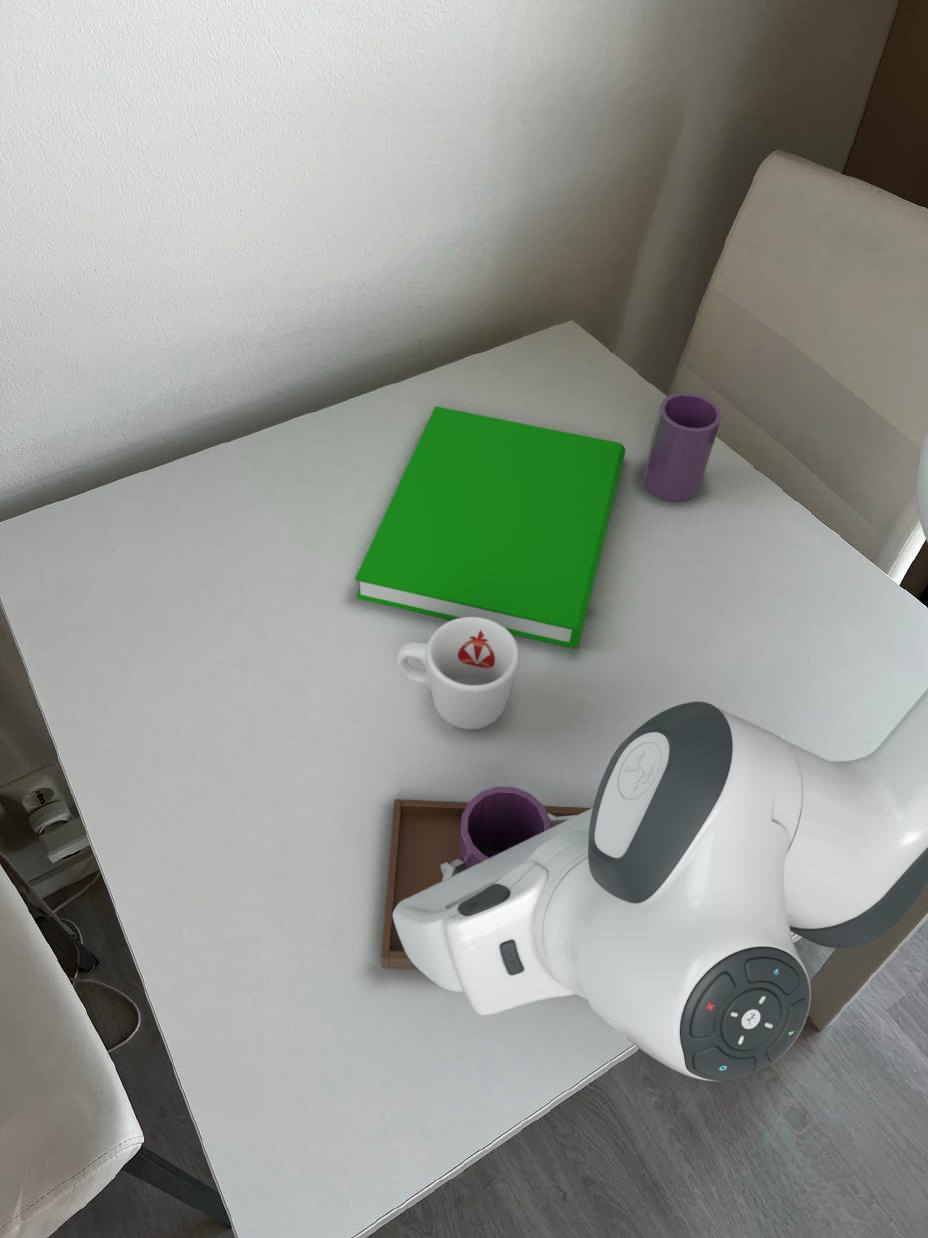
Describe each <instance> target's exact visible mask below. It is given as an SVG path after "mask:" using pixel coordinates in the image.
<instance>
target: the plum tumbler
mask: <svg viewBox="0 0 928 1238" xmlns="http://www.w3.org/2000/svg"><path fill="white" fill-rule="evenodd" d="M468 802H469V803H468V805H467V806H466V808H465V810H464V812H463V814H462V817H461V830H460V844H459V858H460V860H463V861H464V862H465V865H466V867H467V869H468V868H470V867H472V866H474V865H476V864H478V863H480V862H483V861H485V860H487V859H489V858H491V857H493V856H495V855H497V854H499V853H501V852H503V851H505V850H507V849H509V848H511V847H513V846H515V845H517V844H519V843H522V842H524V841H526V840H528V839H530V838H532V837H534V836H536V835H538V834H540V833H542V832H544V831H546V830H548V829H550V828H551V821H550V818H549V816H548V814H547V812H546V810H545V808H544V806H545V805H544V804H543V803H542V802H540V801H539V800H538V799H537V797H535V796H534V795H533V794H532V793H531V792H528V791H526V790H522V789H520V788H518V787H515V786H494V787H491V788H487V789H485V790H482V791H480V792H479V793H477V795H475V796H474V797H473V798H472V799H470V800H469V801H468Z"/></svg>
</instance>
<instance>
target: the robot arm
mask: <svg viewBox="0 0 928 1238" xmlns="http://www.w3.org/2000/svg"><path fill="white" fill-rule="evenodd" d="M914 482H915V487H914V490H915V501H916V502H915V503H916V508H917V513H918V518H919V523H920V526H921V529H922V531H923V535H924V538H925V540H926V543H927V544H928V430H927V431H926V433H925V435H924V436H923V439H922V441H921V443H920V446H919V451H918V455H917V460H916V468H915V481H914ZM590 808H591V809H589V810H587V811H585V812H583V813H581V814H579V815H572V816H560V817H555V816H553V815H551V814H549V813H548V816H549V818H550V821H551V828H550V829H548V830H546V831H544V832H542V833H540V834H538V835H536V836H534V837H532V838H530V839H528V840H526V841H524V842H522V843H519V844H517V845H515V846H513V847H511V848H509V849H507V850H505V851H503V852H501V853H499V854H497V855H495V856H493V857H491V858H489V859H487V860H485V861H483V862H480V863H478V864H476V865H474V866H472V867H470V868H468V869H467V867H466V865H465V862H464V861H463V860H460V858H459V857H457V858H455V859H453V860H450V861H448V862H446V863H444V864H442V865H440V868H441V871H442V874H443V879H442V882H439V883H437V884H435V885H433V886H431V887H429V888H427V889H425V890H423V891H421V892H419V893H417V894H415V895H413V896H411V897H408V898H406V899H404V900H402V901H401V902H400V903H399V904H398V905H397V906H396V908H395V909H394V911H393V920H394V923H395V926H396V930H397V933H398V935H399V938H400V941H401V943H402V946H403V948H404V950H405V953H406V954H407V956H408V958H409V959H410V960H411V961H412V963H413V964H414V965H415V966H416V967H417V968H418V969H417V970H419V971H420V972H421V973H422V974H423V975H424V976H426V977H427V979H429V980H431V981H432V982H433V983H435V984H436V985H437V986H439V987H441V988H442V989H444V990H447V991H451V992H455V993H464V995H465V997H466V999H467V1000H468V1002H469V1005H470V1006H471V1008H472V1010H473V1011H474V1012H475V1013H476V1014H477V1015H478V1016H479V1015H480V1016H483V1017H484V1016H485V1017H486V1016H492V1015H495V1014H499V1013H502V1012H505V1011H508V1010H511V1009H514V1008H517V1007H521V1006H525V1005H528V1004H531V1003H534V1002H539V1001H543V1000H550V999H555V998H562V997H563V998H564V997H571V996H575V995H577V996H579V997H580V998H583V999H585V1000H587V1002H588V1004H589V1006H590V1007H591V1008H592V1010H593V1011H594V1012H595V1013H596V1015H597V1016H599V1017H600V1018H601V1020H603V1021H604V1022H606V1024H607V1025H609V1026H611V1028H612V1029H613V1030H615V1031H616V1032H617V1033H619V1034H620V1035H621V1036H622V1037H623V1038H625V1039H626V1040H627V1041H628V1042H630V1043H631V1044H633V1045H634V1046H636V1047H637V1048H638V1049H640V1050H641V1051H642V1052H644V1053H645V1054H647V1055H648V1056H649V1057H651V1058H653V1059H654V1060H656V1061H658V1062H659V1063H660V1064H662V1065H664V1066H666V1067H667V1068H669V1069H672V1070H673V1071H675V1072H677V1073H679V1074H682V1075H684V1076H687V1077H689V1078H693V1079H697V1080H702V1081H712V1082H729V1081H730V1082H732V1081H736V1080H742V1079H745V1078H748V1077H750V1076H753V1075H755V1074H758V1073H759V1072H762V1071H763V1070H765V1069H767V1068H769V1067H770V1066H771V1065H773V1064H774V1063H776V1062H777V1061H778V1060H779V1059H780V1058H782V1057H783V1056H784V1055H785V1054H786V1053H787V1052H788V1050H789V1049H790V1048H791V1047H792V1046H793V1044H795V1042H796V1041H797V1039H798V1037H799V1036H800V1035H801V1032H802V1031H803V1028H804V1025H805V1024H806V1021H807V1018H808V1015H809V1011H810V1007H811V1006H810V1005H811V998H812V997H811V995H812V994H811V992H812V991H811V982H810V979H809V975H808V972H807V969H806V967H805V965H804V962H803V961H802V959H801V956H800V955H799V952H798V950H797V948H796V946H795V943H794V940H793V937H792V933H793V934H795V935H797V936H799V937H800V938H803V939H805V940H807V941H809V942H810V943H813V944H816V945H818V946H821V947H825V948H831V949H850V948H855V947H859V946H862V945H865V944H868V943H870V942H873V941H874V940H877V939H878V938H880V937H881V936H883V935H885V934H886V933H887V932H889V931H890V930H892V929H893V927H895V926H896V925H897V924H898V923H899V922H900V921H901V920H902V919H903V918H904V916H905V915H906V914H907V913H908V912H909V911H910V909H911V908H912V906H913V905H914V903H916V900H917V899H918V897H919V896H920V894H921V893H922V891H923V889H924V888H925V886H926V884H927V882H928V688H927V689H926V690H925V691H924V692H923V694H922V695H921V696H920V697H919V698H918V699H917V701H916V702H915V703H914V704H913V705H912V706H911V708H910V709H909V710H908V711H907V712H906V713H905V715H904V716H903V717H902V719H901V720H900V721H899V722H898V723H897V724H896V725H895V727H894V728H893V729H892V730H891V731H890V733H889V734H888V735H887V736H886V737H885V739H883V741H882V742H881V743H880V744H879V745H878V747H876V749H874V751H872V752H870V753H869V754H867V755H865V756H862V757H860V758H857V759H856V758H855V759H851V760H829V759H826V758H824V757H823V756H820V755H818V754H816V753H813V752H811V751H809V750H807V749H805V748H803V747H800V746H798V745H796V744H794V743H792V742H790V741H787V740H785V739H783V738H782V737H781V736H780V735H778V734H776V733H774V732H772V731H770V730H768V729H766V728H764V727H762V726H759V725H757V724H755V723H753V722H751V721H748V720H746V719H745V718H741V717H740V716H737V715H735V714H734V713H733V714H732V713H730V712H729V711H726V710H724V709H721V708H719V707H717V706H715V705H714V704H711V703H709V702H706V701H705V702H704V701H689V702H683V703H681V704H677V705H674V706H672V707H670V708H667V709H665V710H663V711H661V712H659V713H658V714H656V715H654V716H653V717H650V719H648V720H647V721H646V722H644V723H643V724H641V725H640V726H639V727H637V729H636V730H634V731H632V733H631V734H630V735H629V736H628V737H626V738H625V740H623V741H622V742H621V743H620V745H619V746H618V747H617V749H616V750H615V752H614V753H613V754H612V757H611V758H610V760H609V763H608V765H607V766H606V769H605V771H604V773H603V775H602V778H601V780H600V783H599V785H598V788H597V791H596V795H595V798H594V802H593V806H592V807H590Z"/></svg>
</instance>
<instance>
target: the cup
mask: <svg viewBox="0 0 928 1238" xmlns="http://www.w3.org/2000/svg"><path fill="white" fill-rule="evenodd" d="M520 654H521V653H520V648H519V644H518V642H517V640H516V639H515V637H514V635H513V634H511V633H510V632H509V631H508V630H507V629H506V628H504V627H503V626H502V625H500V624H498V623H496V622H494V621H492V620H489V619H486V618H481V617H463V618H458V619H454V620H449V621H447V622H445V623H443V624H442V625H440V626H439V627H438V628H437V629H436V630H435V631H434V633H433V634H431V637H430V638H429V641H428V642H426V643H425V642H418V641H411V642H410V641H409V642H406V643H404V644H402V645H401V646H400V648H398V651H397V655H396V659H395V662H396V667H397V670H398V672H399V674H400V675H401V676H402V677H403V678H404V679H406V680H408V681H410V682H412V683H416V684H421V685H424V686H428V687H429V688H430V691H431V696H432V701H433V705H434V707H435V709H436V712H437V713H438V715H439V716H440V717H441V719H443V720H444V721H445V722H447V723H448V724H449V725H451V726H453V727H455V728H458V729H461V730H471V731H472V730H479V729H483V728H486V727H488V726H489V725H491V724H493V723H495V721H496V720H498V719H499V717H500V716H501V715H502V714H503V712H504V710H505V708H506V706H507V703H508V700H509V696H510V694H511V691H512V688H513V685H514V680H515V678H516V674H517V671H518V668H519V666H520V665H519V664H520V658H521V657H520ZM408 658H413V659H418V660H419V661H420V662H421V663H423V665H424V667H425V668H424V669H419V668H416V667H414V666H412V665H411V664H410V663H409V661H408Z"/></svg>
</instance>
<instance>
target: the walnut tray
mask: <svg viewBox="0 0 928 1238" xmlns="http://www.w3.org/2000/svg"><path fill="white" fill-rule="evenodd" d="M393 800H394V801H393V813H392V821H391V822H392V823H391V837H390V845H389V860H388V871H387V883H386V892H385V893H386V895H385V904H384V905H385V906H384V919H383V930H382V942H381V952H380V963H381V964H380V965H381V968H382V969H401V970H402V969H404V970H419V969H418V968H417V967H416V966H415V965H414V964H413V963H412V961H411V960H410V959H409V958H408V956H407V954H406V953H405V950H404V948H403V946H402V943H401V941H400V938H399V935H398V933H397V930H396V926H395V923H394V920H393V911H394V909H395V908H396V906H397V905H398V904H399V903H400V902H401V901H402V900H404V899H406V898H408V897H411V896H413V895H415V894H417V893H419V892H421V891H423V890H425V889H427V888H429V887H431V886H433V885H435V884H437V883H439V882H442V879H443V874H442V871H441V868H440V865H442V864H444V863H446V862H448V861H450V860H453V859H455V858H457V857H459V844H460V830H461V817H462V814H463V812H464V810H465V808H466V806H467V805H468V803H469V801H449V800H448V801H445V800H423V799H406V798H405V799H401V798H395V799H393ZM543 806H544V808H545V810H546V812H547V814H548V813H549V814H551V815H553V816H555V817H560V816H572V815H579V814H581V813H583V812H585V811H587V810H589V809H591V808H592V807H577V806H558V805H557V806H556V805H555V806H554V805H543Z"/></svg>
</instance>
